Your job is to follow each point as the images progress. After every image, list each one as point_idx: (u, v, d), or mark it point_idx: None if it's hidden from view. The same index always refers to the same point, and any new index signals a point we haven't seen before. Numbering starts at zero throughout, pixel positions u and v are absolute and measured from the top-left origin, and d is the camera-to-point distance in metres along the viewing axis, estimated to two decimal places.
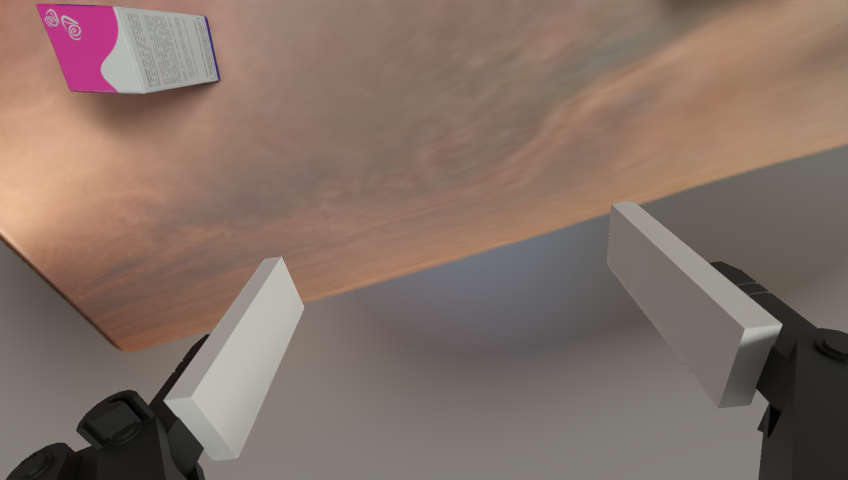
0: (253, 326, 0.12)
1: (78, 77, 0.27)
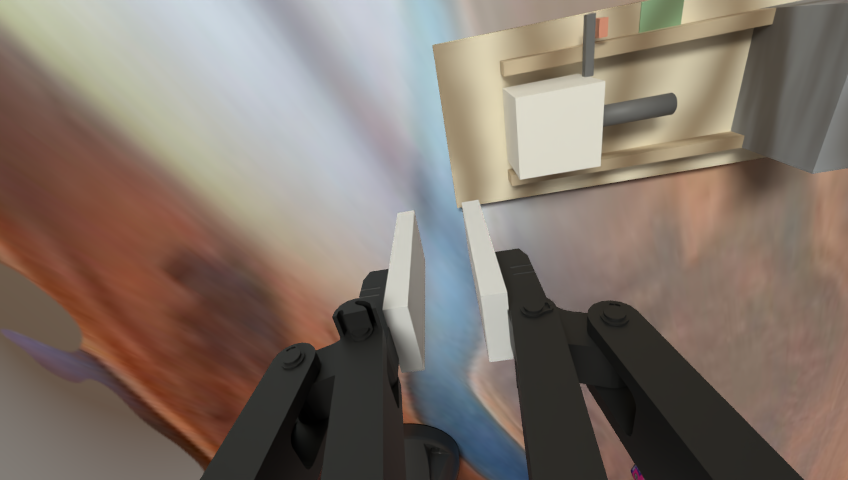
0: (414, 263, 0.14)
1: None
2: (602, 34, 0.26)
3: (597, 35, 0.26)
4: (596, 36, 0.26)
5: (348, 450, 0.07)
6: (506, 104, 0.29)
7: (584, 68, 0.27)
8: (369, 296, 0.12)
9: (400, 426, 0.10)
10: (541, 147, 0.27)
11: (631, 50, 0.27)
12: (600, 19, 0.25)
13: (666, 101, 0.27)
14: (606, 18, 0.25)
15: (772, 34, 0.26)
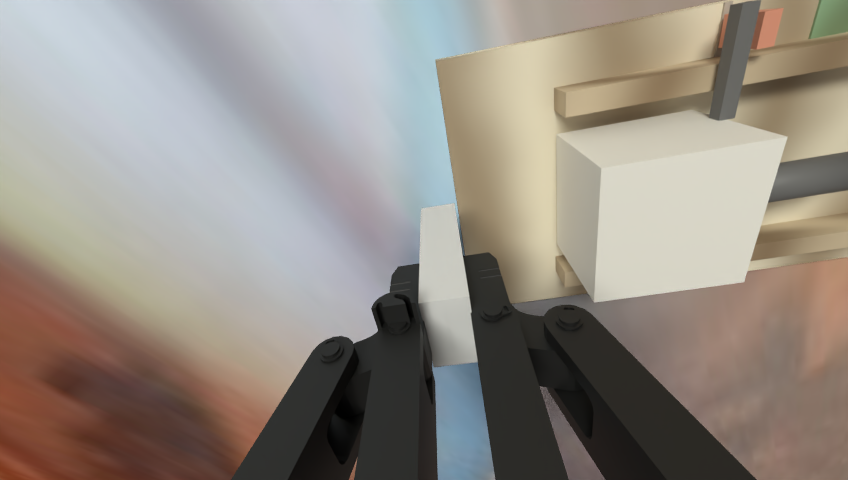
0: None
1: None
2: (764, 42, 0.13)
3: (752, 44, 0.14)
4: None
5: (383, 444, 0.07)
6: (566, 164, 0.16)
7: (720, 105, 0.14)
8: (400, 290, 0.12)
9: (433, 423, 0.10)
10: (640, 252, 0.14)
11: (805, 71, 0.14)
12: (766, 13, 0.13)
13: None
14: (778, 11, 0.13)
15: None
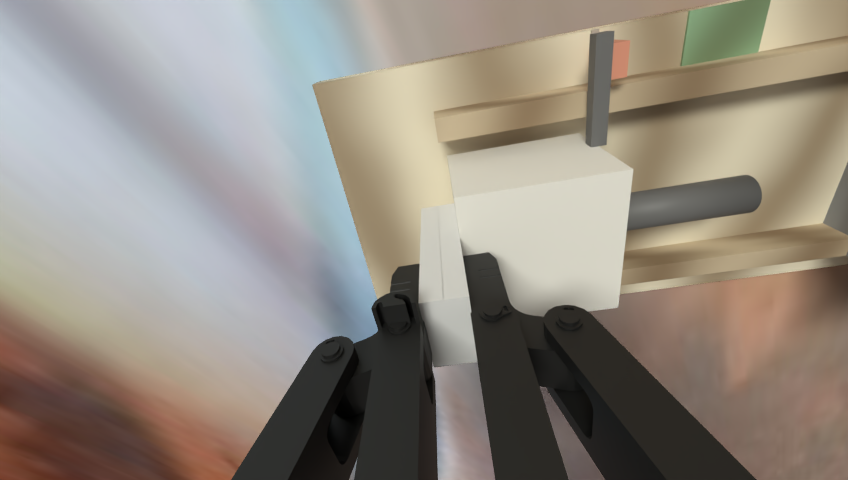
0: None
1: None
2: (617, 73, 0.13)
3: None
4: None
5: (383, 444, 0.07)
6: None
7: (590, 132, 0.14)
8: (400, 290, 0.12)
9: (433, 423, 0.10)
10: (509, 279, 0.14)
11: (669, 100, 0.15)
12: (614, 45, 0.13)
13: (741, 194, 0.14)
14: (625, 43, 0.13)
15: None
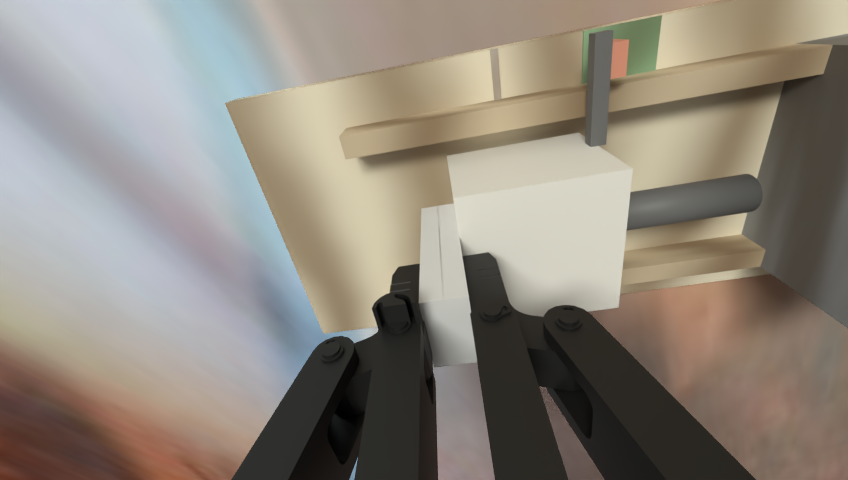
0: None
1: None
2: (616, 72, 0.13)
3: None
4: None
5: (383, 444, 0.07)
6: None
7: (590, 132, 0.14)
8: (400, 290, 0.12)
9: (433, 423, 0.10)
10: (508, 279, 0.14)
11: (565, 118, 0.15)
12: (613, 44, 0.13)
13: (742, 193, 0.14)
14: (624, 42, 0.13)
15: (823, 92, 0.14)
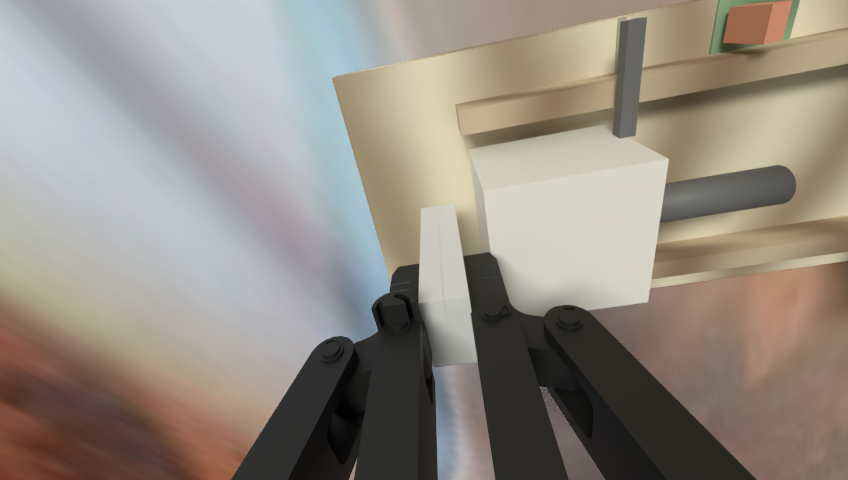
0: None
1: None
2: (772, 37, 0.13)
3: (759, 39, 0.13)
4: (754, 40, 0.13)
5: (383, 444, 0.07)
6: (474, 181, 0.16)
7: (619, 123, 0.14)
8: (400, 290, 0.12)
9: (433, 423, 0.10)
10: (537, 274, 0.14)
11: (699, 89, 0.14)
12: (774, 5, 0.12)
13: (775, 184, 0.14)
14: (787, 3, 0.12)
15: None
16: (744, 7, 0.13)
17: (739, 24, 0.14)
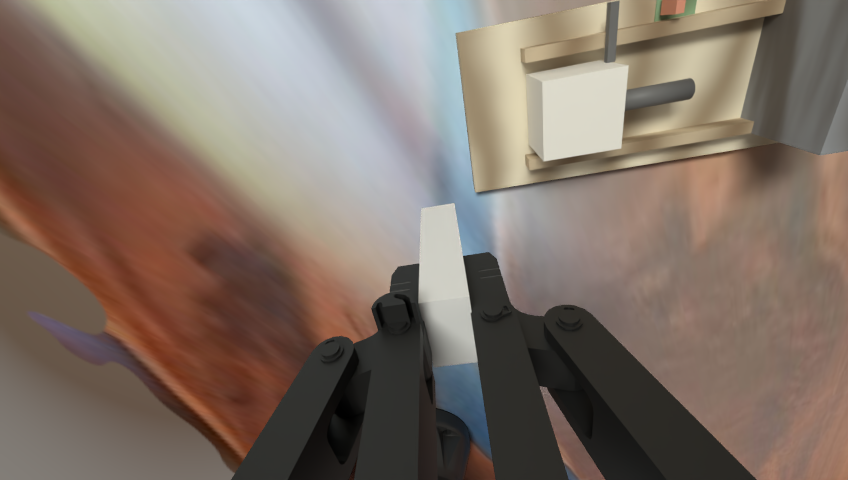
0: None
1: None
2: (679, 10, 0.27)
3: (673, 11, 0.27)
4: (672, 12, 0.27)
5: (383, 444, 0.07)
6: (530, 89, 0.30)
7: (607, 54, 0.28)
8: (400, 290, 0.12)
9: (433, 423, 0.10)
10: (565, 130, 0.28)
11: (647, 38, 0.28)
12: None
13: (684, 86, 0.28)
14: None
15: (782, 23, 0.27)
16: None
17: (666, 5, 0.27)
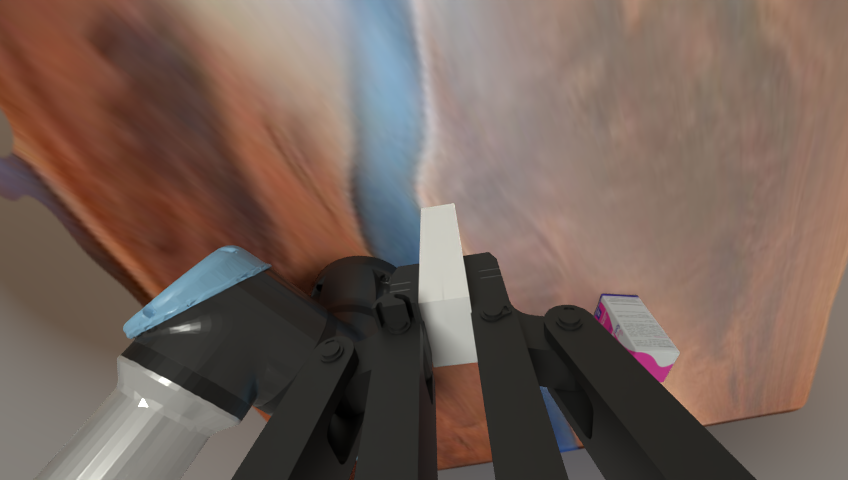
0: None
1: (659, 376, 0.48)
2: None
3: None
4: None
5: (383, 444, 0.07)
6: None
7: None
8: (400, 291, 0.12)
9: (433, 423, 0.10)
10: None
11: None
12: None
13: None
14: None
15: None
16: None
17: None
